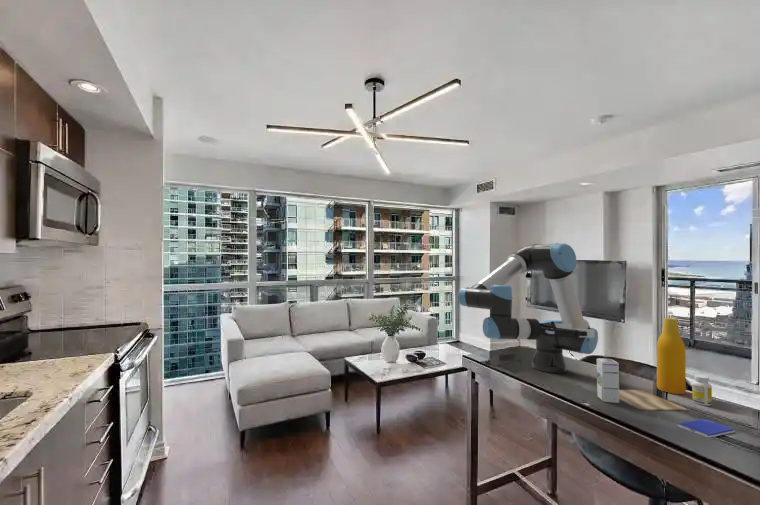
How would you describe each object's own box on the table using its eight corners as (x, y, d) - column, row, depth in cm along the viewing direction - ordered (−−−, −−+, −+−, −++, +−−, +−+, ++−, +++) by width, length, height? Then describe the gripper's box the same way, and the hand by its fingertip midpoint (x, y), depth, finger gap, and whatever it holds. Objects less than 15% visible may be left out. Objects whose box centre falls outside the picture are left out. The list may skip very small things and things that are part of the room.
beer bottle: (687, 391, 149) (686, 319, 150) (684, 396, 142) (684, 321, 143) (658, 385, 155) (658, 316, 156) (654, 390, 149) (654, 318, 150)
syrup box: (619, 403, 133) (620, 362, 133) (601, 401, 134) (602, 361, 134) (613, 398, 138) (613, 358, 139) (596, 396, 139) (596, 357, 140)
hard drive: (702, 418, 118) (677, 422, 114) (734, 428, 111) (708, 434, 106) (702, 423, 118) (677, 428, 114) (734, 433, 111) (708, 439, 106)
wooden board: (640, 410, 126) (640, 408, 126) (601, 390, 146) (601, 389, 146) (687, 410, 127) (687, 409, 127) (642, 391, 147) (642, 389, 147)
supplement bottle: (707, 402, 137) (707, 375, 137) (715, 407, 132) (714, 379, 132) (689, 400, 138) (689, 373, 139) (696, 404, 133) (696, 377, 134)
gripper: (511, 333, 147) (562, 334, 148) (543, 346, 122) (604, 347, 124) (511, 314, 147) (563, 315, 149) (544, 323, 122) (605, 325, 124)
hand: (582, 330), depth 136 cm, fingers open, 12 cm apart
